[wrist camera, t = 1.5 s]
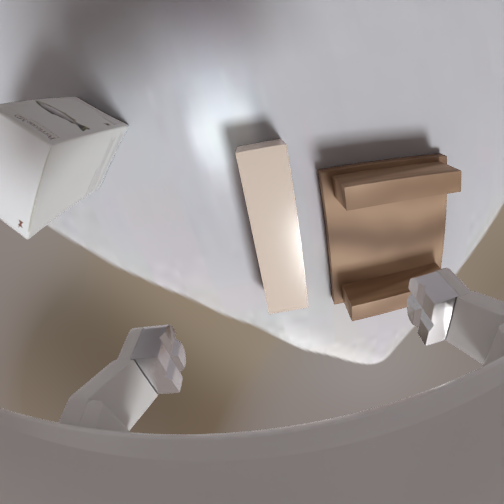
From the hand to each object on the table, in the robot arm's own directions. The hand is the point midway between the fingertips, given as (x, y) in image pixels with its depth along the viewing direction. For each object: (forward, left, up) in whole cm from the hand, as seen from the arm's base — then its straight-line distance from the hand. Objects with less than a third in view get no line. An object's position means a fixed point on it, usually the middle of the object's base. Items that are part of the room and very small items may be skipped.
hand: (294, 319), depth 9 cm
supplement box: (-8, -16, -20) cm, 27 cm away
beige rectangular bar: (+5, 0, -20) cm, 20 cm away
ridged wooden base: (+8, +12, -20) cm, 24 cm away
